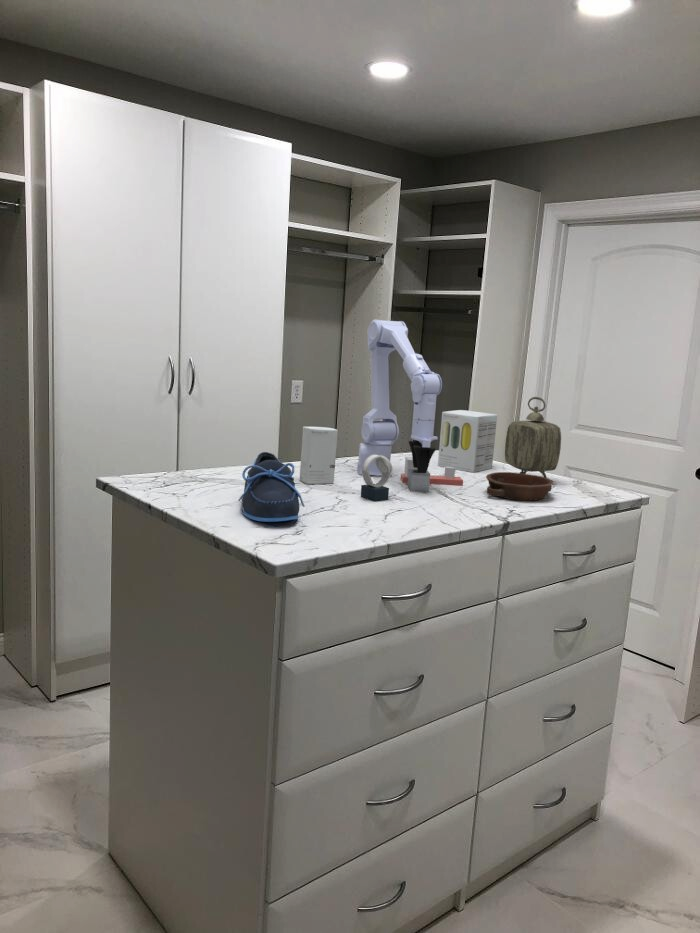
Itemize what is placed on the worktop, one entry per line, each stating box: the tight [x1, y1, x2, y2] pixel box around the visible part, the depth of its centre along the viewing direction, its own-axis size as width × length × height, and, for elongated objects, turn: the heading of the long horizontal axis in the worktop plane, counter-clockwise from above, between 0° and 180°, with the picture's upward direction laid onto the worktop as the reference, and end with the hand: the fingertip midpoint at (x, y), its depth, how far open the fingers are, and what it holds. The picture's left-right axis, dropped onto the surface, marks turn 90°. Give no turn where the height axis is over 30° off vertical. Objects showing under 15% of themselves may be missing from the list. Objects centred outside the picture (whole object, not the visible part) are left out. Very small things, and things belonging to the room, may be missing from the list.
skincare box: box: [299, 426, 339, 485], centre depth 204 cm, size 8×6×15 cm
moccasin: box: [237, 451, 305, 523], centre depth 172 cm, size 14×34×12 cm, turn 17°
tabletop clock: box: [504, 396, 562, 480], centre depth 224 cm, size 14×9×25 cm, turn 31°
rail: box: [400, 456, 464, 487], centre depth 214 cm, size 17×5×6 cm, turn 94°
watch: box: [360, 455, 393, 503], centre depth 189 cm, size 6×8×11 cm
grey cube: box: [407, 469, 431, 493], centre depth 203 cm, size 5×5×5 cm
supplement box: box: [437, 409, 498, 473], centre depth 241 cm, size 13×13×18 cm
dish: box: [485, 471, 554, 502], centre depth 204 cm, size 17×22×5 cm
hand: (419, 470), depth 203 cm, fingers open, 7 cm apart
